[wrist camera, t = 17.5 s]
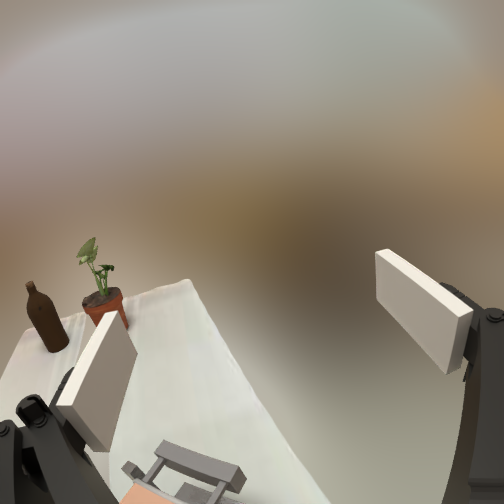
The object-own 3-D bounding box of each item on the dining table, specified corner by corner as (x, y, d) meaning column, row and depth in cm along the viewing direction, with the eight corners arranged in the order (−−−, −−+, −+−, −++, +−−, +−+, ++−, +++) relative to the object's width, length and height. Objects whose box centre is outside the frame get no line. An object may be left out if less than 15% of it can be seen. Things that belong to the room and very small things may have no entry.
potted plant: (144, 319, 99) (109, 221, 87) (118, 345, 85) (75, 239, 73) (113, 316, 104) (80, 227, 92) (88, 339, 91) (47, 244, 79)
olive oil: (75, 338, 93) (47, 275, 84) (58, 355, 83) (25, 289, 75) (59, 336, 96) (31, 276, 87) (42, 352, 86) (11, 290, 77)
